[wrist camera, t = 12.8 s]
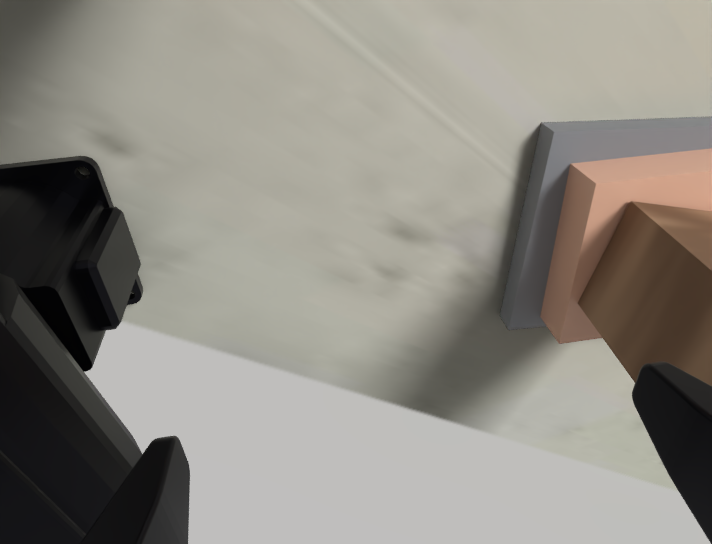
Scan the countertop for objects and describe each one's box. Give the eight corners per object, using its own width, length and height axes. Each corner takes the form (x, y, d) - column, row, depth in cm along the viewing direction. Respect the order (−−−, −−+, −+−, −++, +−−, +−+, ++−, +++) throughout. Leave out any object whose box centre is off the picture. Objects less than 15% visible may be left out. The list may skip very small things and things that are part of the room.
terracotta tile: (540, 316, 26) (559, 343, 24) (570, 163, 21) (596, 183, 20) (690, 296, 26) (719, 321, 25) (750, 144, 22) (789, 162, 20)
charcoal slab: (493, 305, 28) (508, 330, 26) (532, 116, 22) (554, 131, 20) (666, 291, 29) (690, 313, 27) (743, 109, 23) (780, 123, 22)
